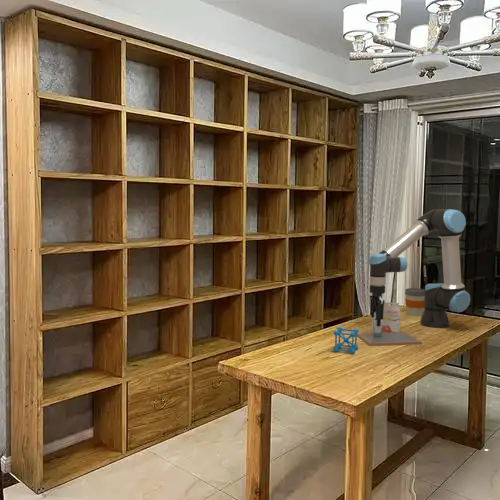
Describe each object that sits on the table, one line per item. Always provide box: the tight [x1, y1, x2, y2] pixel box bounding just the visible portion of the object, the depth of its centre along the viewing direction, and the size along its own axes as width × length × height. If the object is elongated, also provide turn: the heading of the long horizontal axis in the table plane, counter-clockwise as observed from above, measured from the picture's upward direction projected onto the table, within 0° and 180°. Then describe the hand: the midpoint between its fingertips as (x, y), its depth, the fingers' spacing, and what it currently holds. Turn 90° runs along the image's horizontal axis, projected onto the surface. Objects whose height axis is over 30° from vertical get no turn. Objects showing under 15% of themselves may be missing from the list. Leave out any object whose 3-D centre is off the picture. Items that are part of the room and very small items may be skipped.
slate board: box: [357, 331, 423, 347], centre depth 262 cm, size 26×18×1 cm
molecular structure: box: [332, 326, 360, 355], centre depth 242 cm, size 10×10×10 cm
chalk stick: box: [373, 312, 383, 337], centre depth 264 cm, size 4×4×12 cm
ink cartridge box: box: [382, 302, 401, 333], centre depth 280 cm, size 9×5×15 cm, turn 84°
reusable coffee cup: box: [404, 287, 425, 317], centre depth 320 cm, size 13×13×15 cm
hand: (375, 331), depth 264 cm, fingers closed on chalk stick, 4 cm apart
